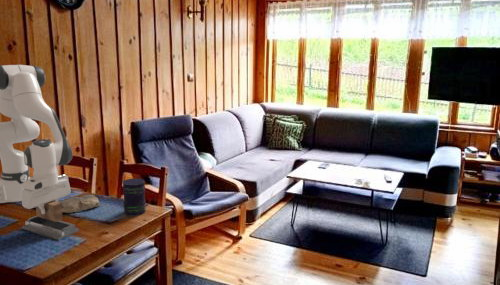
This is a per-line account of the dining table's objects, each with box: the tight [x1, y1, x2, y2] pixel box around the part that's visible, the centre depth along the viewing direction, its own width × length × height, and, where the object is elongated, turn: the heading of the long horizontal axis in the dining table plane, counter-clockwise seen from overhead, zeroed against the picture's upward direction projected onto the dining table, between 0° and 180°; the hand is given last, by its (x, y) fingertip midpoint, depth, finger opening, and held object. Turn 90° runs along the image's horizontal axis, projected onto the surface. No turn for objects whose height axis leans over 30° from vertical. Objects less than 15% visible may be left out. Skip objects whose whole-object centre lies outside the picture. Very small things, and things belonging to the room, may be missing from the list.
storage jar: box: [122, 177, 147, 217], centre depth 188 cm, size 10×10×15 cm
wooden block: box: [35, 201, 64, 222], centre depth 167 cm, size 12×4×7 cm, turn 64°
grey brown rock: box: [58, 194, 101, 214], centre depth 193 cm, size 14×5×20 cm
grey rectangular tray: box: [21, 215, 80, 241], centre depth 168 cm, size 22×10×3 cm, turn 64°
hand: (49, 211), depth 167 cm, fingers closed on wooden block, 3 cm apart
